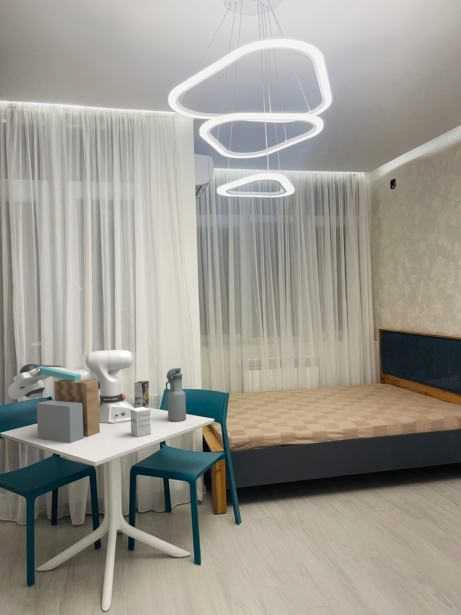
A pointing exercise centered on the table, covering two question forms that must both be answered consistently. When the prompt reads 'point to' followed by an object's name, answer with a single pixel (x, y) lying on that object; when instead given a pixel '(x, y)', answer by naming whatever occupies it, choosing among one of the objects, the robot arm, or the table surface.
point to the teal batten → (59, 374)
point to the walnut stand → (81, 401)
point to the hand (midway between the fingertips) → (43, 368)
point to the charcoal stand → (60, 421)
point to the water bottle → (175, 396)
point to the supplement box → (140, 422)
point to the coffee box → (141, 394)
